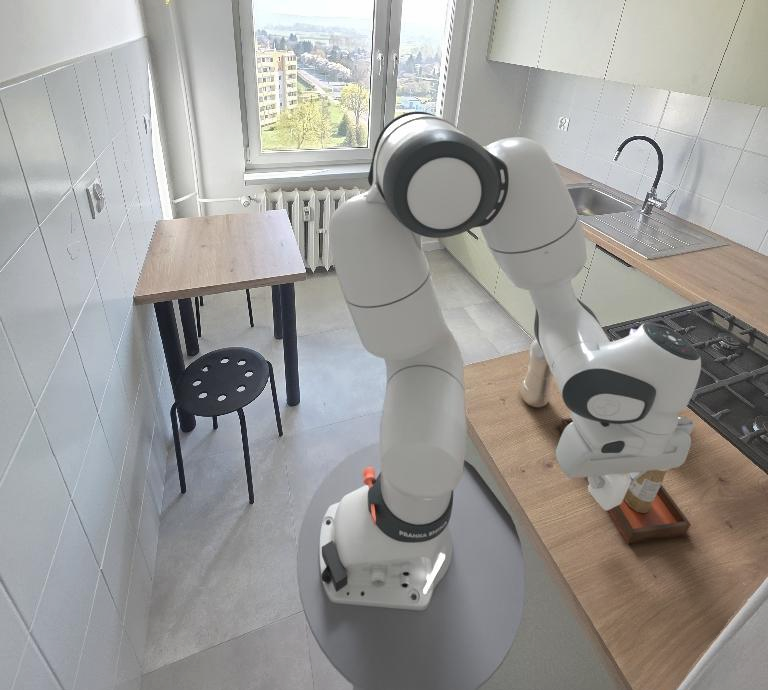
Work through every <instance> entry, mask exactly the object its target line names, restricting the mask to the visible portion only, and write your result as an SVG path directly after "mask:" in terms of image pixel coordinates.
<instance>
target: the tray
mask: <svg viewBox="0 0 768 690" xmlns="http://www.w3.org/2000/svg"><path fill="white" fill-rule="evenodd" d="M571 422H573V420H572V418H571V417H569V418H562V419H561V423H560V426H559V430H560V432H561V434H562V433H563V431H564V430H565V428H566V427H567V426H568V425H569V424H570V423H571ZM607 512H608V513H609V515H610V516H611V518H612V520H613V522H614V523H615V525H616V527H617V528H618V530H619V533H621V535H622V537H623V538H624V540H625V542H626V543H627V544H628V545H629V544H635V543H636V544H637V543H643V542H648V541H655V540H661V539H662V540H663V539H669V538H674V537H681V536H682V537H683V536H686V535H687V534H688V531H689V529H690V527H691V525H692V524H691V522H690V521H689V520H688V518H687V517H686V516H685V514H684V513H683V512H682V511H681V509H680V508H679V506H678V505H677V503H676V502H675V501H674V499H673V498H672V497H671V495H670V494H669V493H668V491H667V489H666V488H665V487H664V486H663V484H661V486H660V488H659V490H658V492H657V494H656V496H655V498H654V500H653V501H652V503H651V507H650V510H649V511H648V512H647V513H640V512H637V511H635V510H633V509H632V508H630V507H629V506H628V505H627V504H626V502H625V501H624V499H623V501H622V503H621V504H620V505H618V506H616V507H614V508H612V509H609V510H607Z"/></svg>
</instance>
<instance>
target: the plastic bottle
mask: <svg viewBox="0 0 768 690" xmlns="http://www.w3.org/2000/svg"><path fill="white" fill-rule="evenodd" d="M528 362H529V363H528V368H527V371H526V374H525V377H524V378H523V381H522V383H521V386H520V396H521V398H522V399H523V401H524V402H525V404H527V405H528V406H530V407H534V408H542V407H544V406H546V405H547V404H548V403H549V401H550V399H551V394H552V380H553V375H552V372H551V370H550V367H549V365H548V363H547V360H546V358H545V355H544V353H543V351H542V349H541V347H540V345H539V343H538V341H537V339H536V338H535V339H534V340H532V342H531V344H530V349H529V361H528Z"/></svg>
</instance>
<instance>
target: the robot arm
mask: <svg viewBox="0 0 768 690" xmlns="http://www.w3.org/2000/svg"><path fill="white" fill-rule="evenodd" d="M368 171H369V172H368V176H367V182H368V184H369V186H370V188H369V189H368V190H367V191H366V192H364V193H360V194H359V195H354V196H352V197H351V198H349V199H347V200H345V201H344V202H343V203H341V204H340V205H339V206H338V207H337V208H336V209H335V210H334V211H333V213H332V215H331V217H330V218H329V222H328V228H327V231H328V239H329V246H330V251H331V257H332V262H333V266H334V270H335V273H336V277H337V281H338V283H339V286H340V289H341V292H342V294H343V298H344V300H345V304H346V305H347V308H348V311H349V313H350V316H351V318H352V322H353V324H354V326H355V330H356V332H357V334H358V337H359V339H360V342H361V344H362V346H363V348H364V349H365V351H367V352H368V353H369V354H371V355H372V356H374V357H376V358H380V359H383V360H384V363H385V370H386V386H385V394H384V399H383V405H382V411H381V416H380V421H379V442H380V463H381V470H382V471H381V473H380V474H379V476H378V477H377V479H376V478H375V470H374V468H372V467H367V468H365V469H364V470H363V476H364V484H365V486H363V487H361V488H359V489H357V490H355V491H353V492H351V493H349V494H347V495H345V496H344V497H343V498H342V499H341V501H340V502H339V503H336V504H333V505H331V506H330V507H329V508H328V510H327V512H326V514H325V516H324V519H323V522H322V526H321V532H320V541H319V565H320V573H321V579H322V583H323V586H324V589H325V591H326V594H327V596H328V597H329V599H330V600H331V601H332V602H334V603H340V604H351V605H362V606H373V607H384V608H396V609H407V610H418V611H423V610H425V609H427V607H428V606H429V604H430V601H431V598H432V594H433V591H434V588H435V587H436V585H437V584H438V583H439V582H440V580H441V579H442V578H443V577H444V575H445V574H446V572H447V570H448V568H449V565H450V562H451V558H452V537H451V533H450V530H449V520H450V517H451V512H452V507H453V490H454V489H455V488H456V487H457V485H458V484H459V482H460V479H461V475H462V470H463V464H464V460H465V458H466V451H467V442H468V427H467V425H468V424H467V403H466V388H465V387H466V385H465V366H464V365H465V364H464V358H463V355H462V351H461V348H460V345H459V341H458V339H457V336H456V335H455V333H454V331H453V330H452V329H451V328H450V327H449V326H448V324H447V321H446V319H445V317H444V313H443V311H442V308H441V304H440V300H439V297H438V294H437V291H436V287H435V283H434V280H433V277H432V273H431V270H430V266H429V263H428V260H427V256H426V253H425V250H424V246H423V237H425V238H431V239H444V238H450V237H454V236H458V235H460V234H461V235H462V234H463V233H467V232H468V231H470V230H472V229H475V228H479V229H480V232H481V234H482V236H483V238H484V241H485V244H486V245H487V247H488V250H489V252H490V253H491V256H492V257H493V259H494V261H495V262H496V264H497V266H498V268H499V269H500V270H501V272H502V273H503V275H504V276H505V277H506V278H507V280H508V281H509V283H510V284H511V285H512V286H513V287H516V288H518V289H520V290H524V291H527V292H528V293H529V295H530V297H531V301H532V302H533V305H534V308H535V315H534V317H535V318H534V323H533V324H534V325H533V331H534V332H533V333H534V337H535V339H537V341H538V343H539V345H540V347H541V349H542V351H543V353H544V355H545V358H546V360H547V363H548V365H549V367H550V370H551V372H552V375H553V376H552V378H553V379H554V382H555V384H556V386H557V390H558V391H559V394H560V396H561V397H562V398H561V399H562V401H563V403H564V405H565V406H566V407H567V408H568V409H569V410H570V418H572V420H573V422H571V423H570V424H569V425H568V426H567V427H566V428H565V430H564V431H563V433H562V432H561V436H560V438H559V440H558V443H557V447H556V450H555V458H556V461H557V462H558V465H559V467H560V469H561V470H562V472H563V474H564V475H565V476H566V477H567V478H568V479H570V480H571V479H572V480H573V479H582V478H587V482H588V485H589V484H590V485H591V487H592V488H593V489H597V488H602V487H603V485H604V480H603V479H602V478H601V476H602V475H611V474H621V473H628V475H629V476H630V478H631V480H632V481H631V483H630V485H633V484H634V482H635V480H636V479H637V478H639V477H640V476H641V475H643V474H644V473H646V471H650V470H660V469H668V470H670V469H677V468H679V467H680V466H682V465H683V464H685V462H686V460H687V458H688V455H689V452H690V449H691V446H692V438H691V436H690V435H691V434H692V431H693V430H694V427H695V425H694V423H693V421H692V420H691V419H689V418H688V417H686V416H679V415H680V414H681V412H683V411H684V410H685V409H686V408H688V405H689V404H690V401H691V399H692V397H693V395H694V393H695V390H696V388H697V386H698V382H699V379H700V375H701V370H702V358H701V355H700V354H699V352H698V351H697V349H696V348H695V347H694V345H693V344H691V342H690V341H689V340H688V339H687V338H686V337H685V336H683V335H682V334H680V333H679V332H677V331H676V330H674V329H672V328H670V327H669V326H666V325H663V324H660V323H656V322H644V323H642V324H641V325H640V326H639V327H638V328H637V329H636V330H637V331H636V332H634V333H633V334H631V335H629V334H628V335H627V336H625V337H622V338H619V339H617V340H613V341H610V339H609V337H608V336H607V334H606V332H605V331H604V329H603V328H602V326H601V324H600V321H599V320H598V318H597V316H596V314H595V313H594V312H593V311H592V309H591V308H590V307H589V306H587V305H586V304H585V303H583V302H582V301H581V300H580V299H579V298H578V297H577V296H576V292H575V290H574V287H573V284H572V280H573V279H574V278H576V277H577V276H578V275H579V274H580V272H581V271H582V270H583V268H584V267H585V265H586V263H587V260H588V257H587V246H586V238H585V233H584V228H583V226H582V223H581V219H580V217H579V214H578V211H577V208H576V206H575V203H574V200H573V198H572V195H571V194H570V191H569V189H568V186H567V185H566V183H565V180H564V179H563V177H562V175H561V173H560V172H559V169H558V168H557V166H556V164H555V163H554V161H553V159H552V158H551V156H550V155H549V153H548V152H547V150H546V149H545V148H544V147H543V146H542V144H540V143H539V142H537V141H535V140H533V139H530V138H527V137H522V136H521V137H520V136H519V137H516V136H515V137H514V136H513V137H506V138H502V139H498V140H496V141H494V142H492V143H490V144H488V145H483V146H482V145H481V144H479V143H478V142H476V141H475V140H474V139H472V138H470V137H469V136H468V135H467V134H465V133H464V132H463V131H462V130H460V128H459V127H457V126H456V125H455V124H454V123H451V122H450V121H448V120H447V119H445V118H442V117H440V116H437V115H435V114H433V113H430V112H426V111H409V112H406V113H403V114H400V115H398V116H396V117H395V118H393V119H392V120H390V121H389V122H388V123H387V124H386V125H385V126H384V127H383V129H382V130H381V132H380V134H379V135H378V137H377V139H376V142H375V145H374V149H373V154H372V158H371V163H370V168H369V170H368ZM327 522H330V525H327V524H326V523H327ZM362 594H363V595H364V596H361V595H362ZM412 596H415V597H416V600H412V599H411V597H412Z"/></svg>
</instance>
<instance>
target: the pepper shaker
mask: <svg viewBox="0 0 768 690" xmlns="http://www.w3.org/2000/svg"><path fill="white" fill-rule="evenodd" d="M601 478H602V479H603V480H604V485H603V487H602V488H597V489H593V488H592V487H591V485H590V484H589V483H588V486H587V491H588V493H589V494H590V495H591V496H592V497H593V499H594V500H595V501H596V502H597V503H598V505H599V506H600V508H601V509H602V510H604V511H607V512H608V510H609V509H612V508H614V507H616V506H618V505H620V504H621V503H622V501H623V499H624V496H625V494H626V492H627V490H628V488H629V486H630V483H631V481H632V480H631V478H630V476H629V475H628V473H621V474H611V475H602V476H601Z"/></svg>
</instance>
